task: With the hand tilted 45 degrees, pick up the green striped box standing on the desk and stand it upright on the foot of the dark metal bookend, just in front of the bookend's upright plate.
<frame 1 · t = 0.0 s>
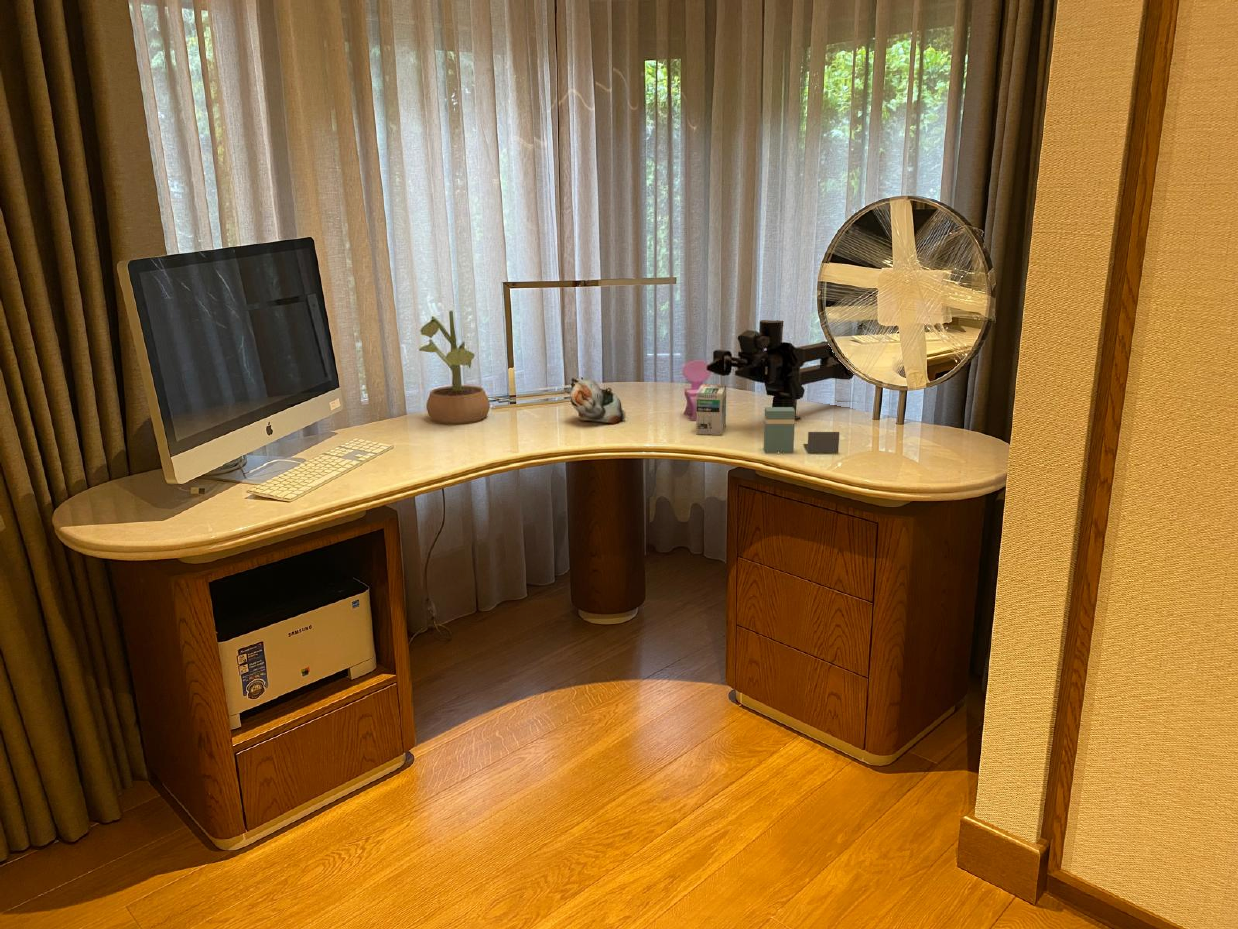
hand: (721, 370, 224), 17 cm above the table, tool horizontal, fingers open, 9 cm apart
green striped box: (778, 450, 216), on the table
potted plant: (456, 421, 248), on the table
bookend: (820, 448, 217), on the table
toy chair: (698, 417, 249), on the table
lucky cat figurine: (598, 421, 246), on the table
light bulb box: (711, 430, 235), on the table
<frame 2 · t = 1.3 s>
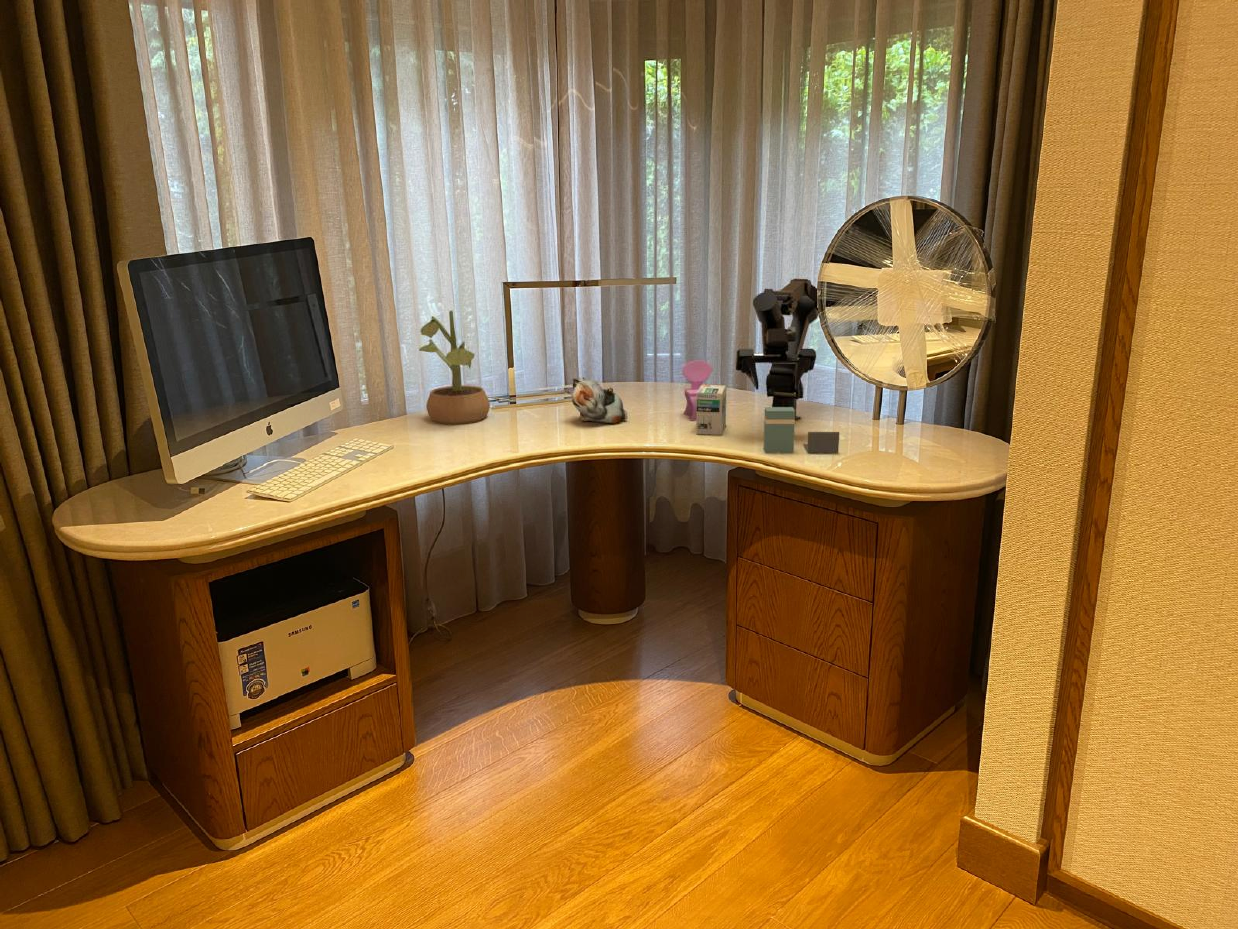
hand: (777, 388, 218), 13 cm above the table, tool tilted 45°, fingers open, 9 cm apart
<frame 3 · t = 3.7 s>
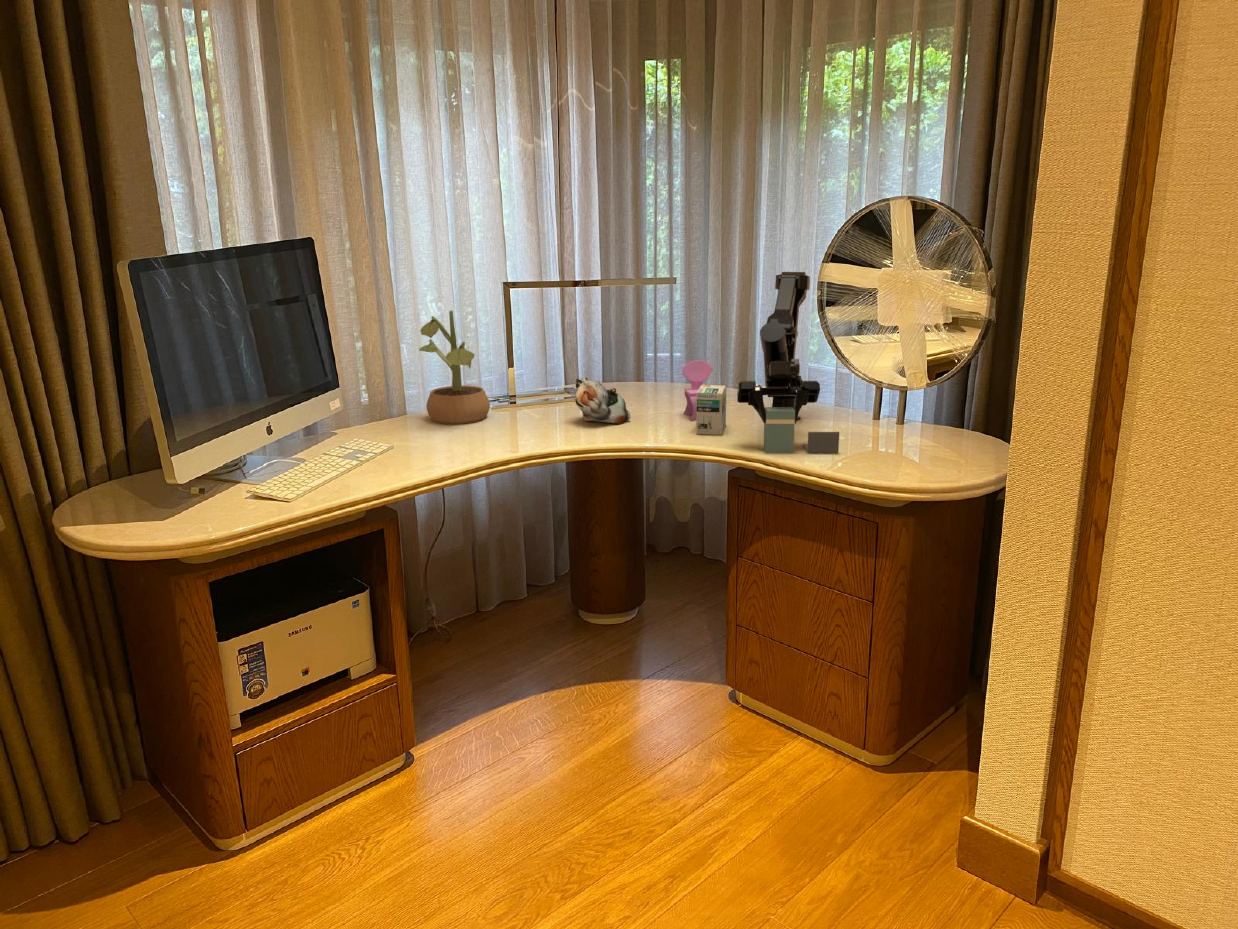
hand: (780, 422, 212), 7 cm above the table, tool tilted 45°, fingers closed on green striped box, 6 cm apart
green striped box: (778, 450, 216), on the table, touching gripper
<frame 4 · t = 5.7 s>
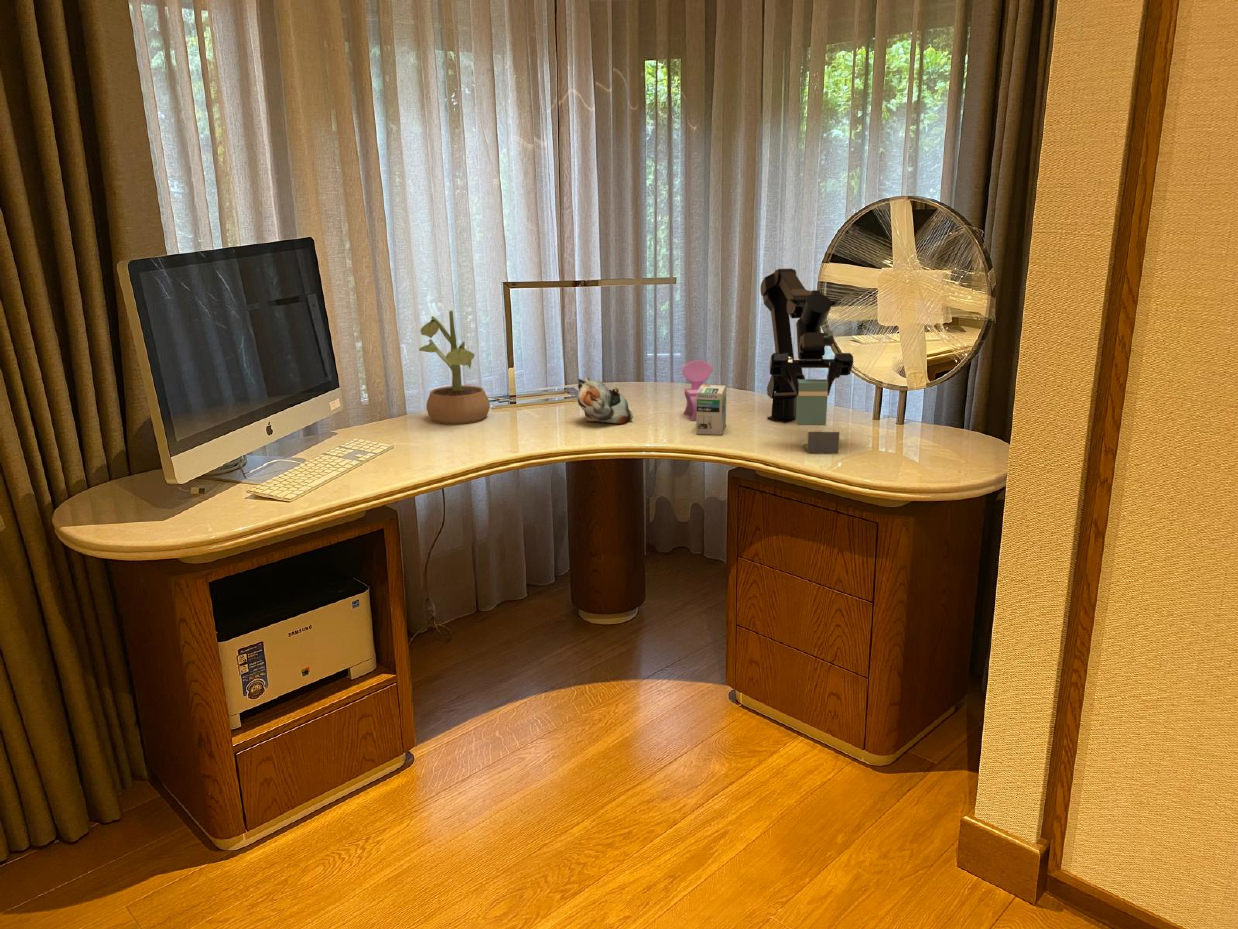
hand: (812, 394, 211), 13 cm above the table, tool tilted 45°, fingers closed on green striped box, 6 cm apart
green striped box: (810, 423, 215), point 6 cm above the table, touching gripper
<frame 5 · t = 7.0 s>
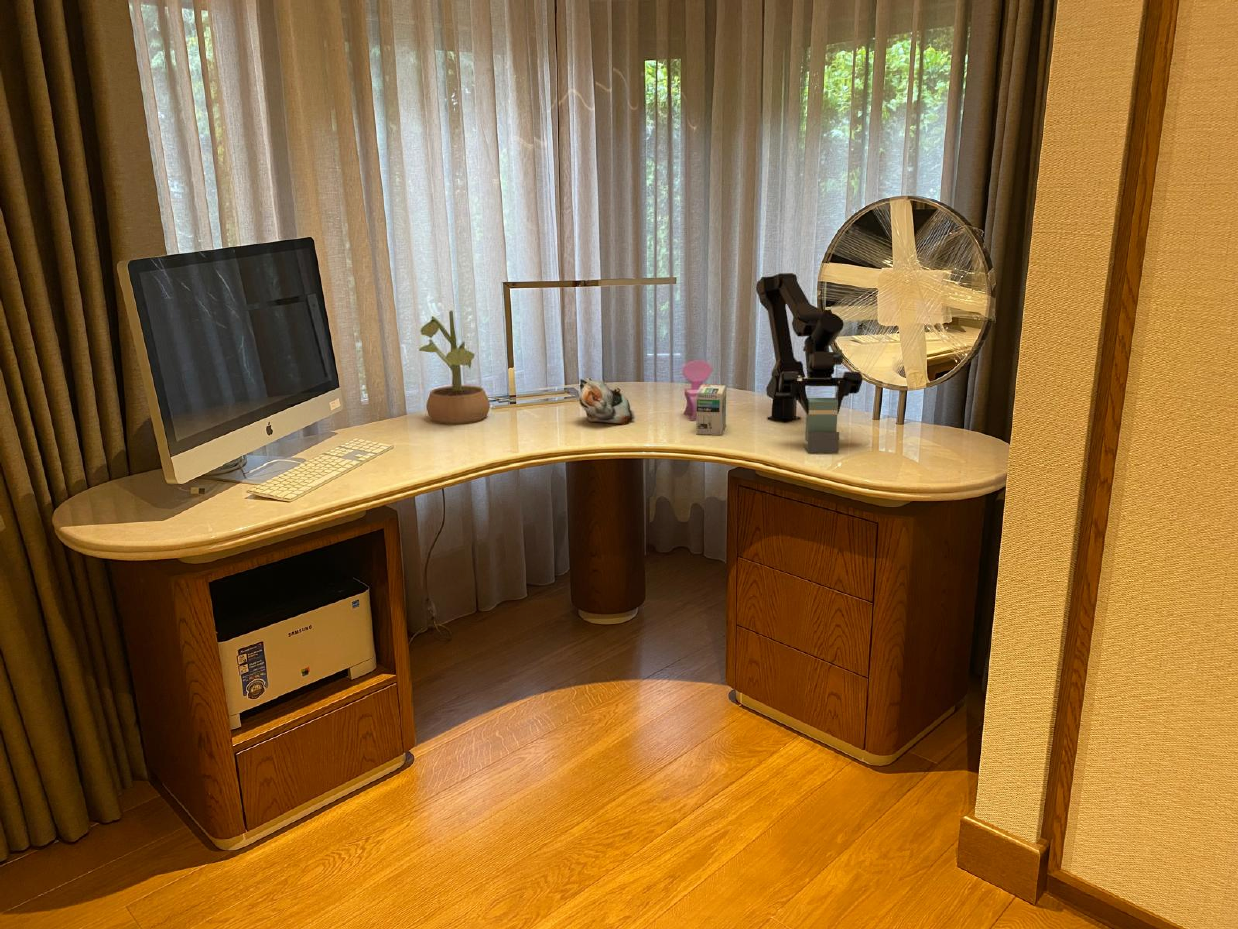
hand: (822, 413, 213), 9 cm above the table, tool tilted 45°, fingers closed on green striped box, 6 cm apart
green striped box: (820, 441, 216), point 2 cm above the table, touching gripper
when the fingers open (9 cm above the table, at t = 8.0 s): green striped box stays where it is, resting on bookend.
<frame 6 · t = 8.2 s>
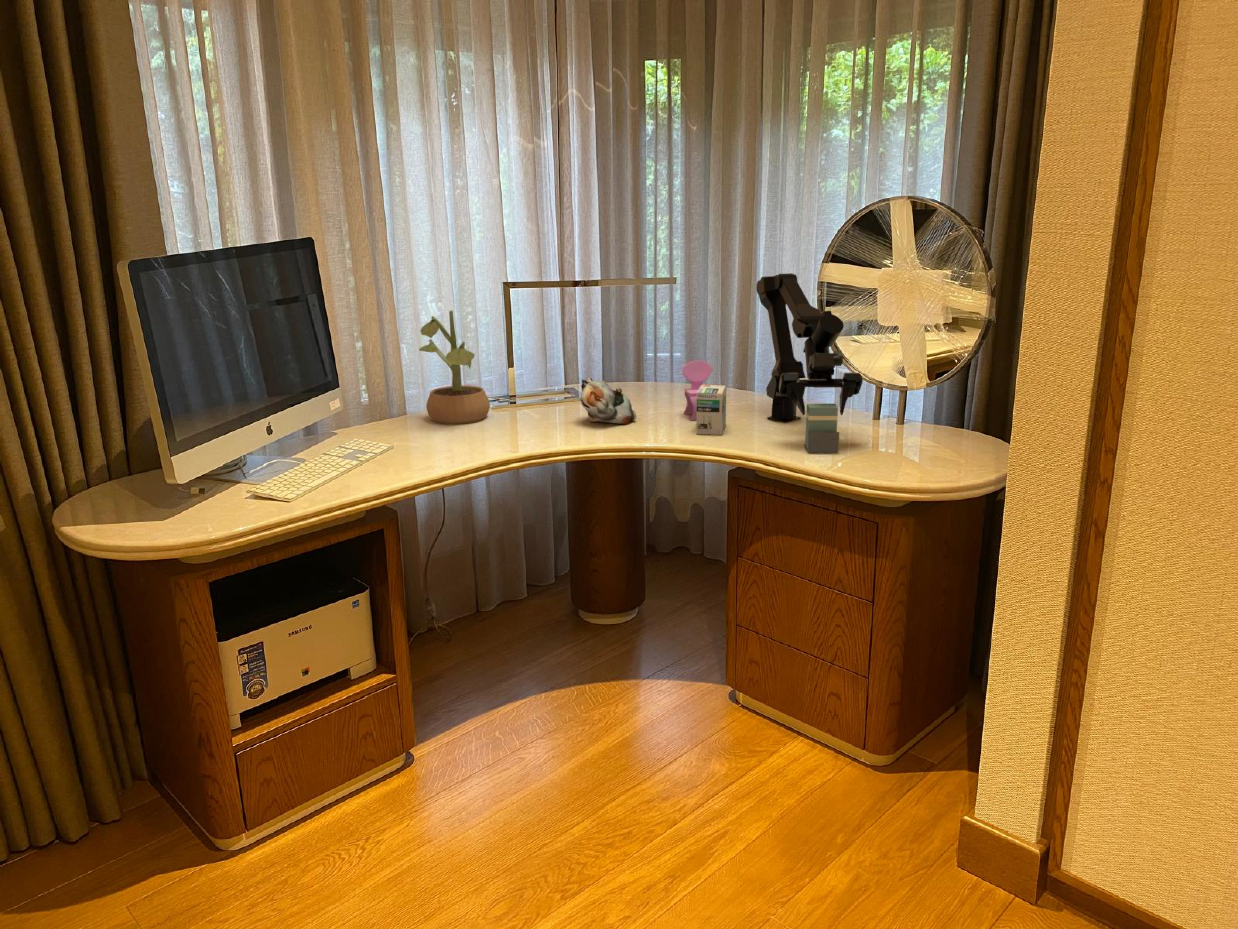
hand: (822, 414, 213), 9 cm above the table, tool tilted 45°, fingers open, 8 cm apart
green striped box: (820, 447, 217), resting on bookend
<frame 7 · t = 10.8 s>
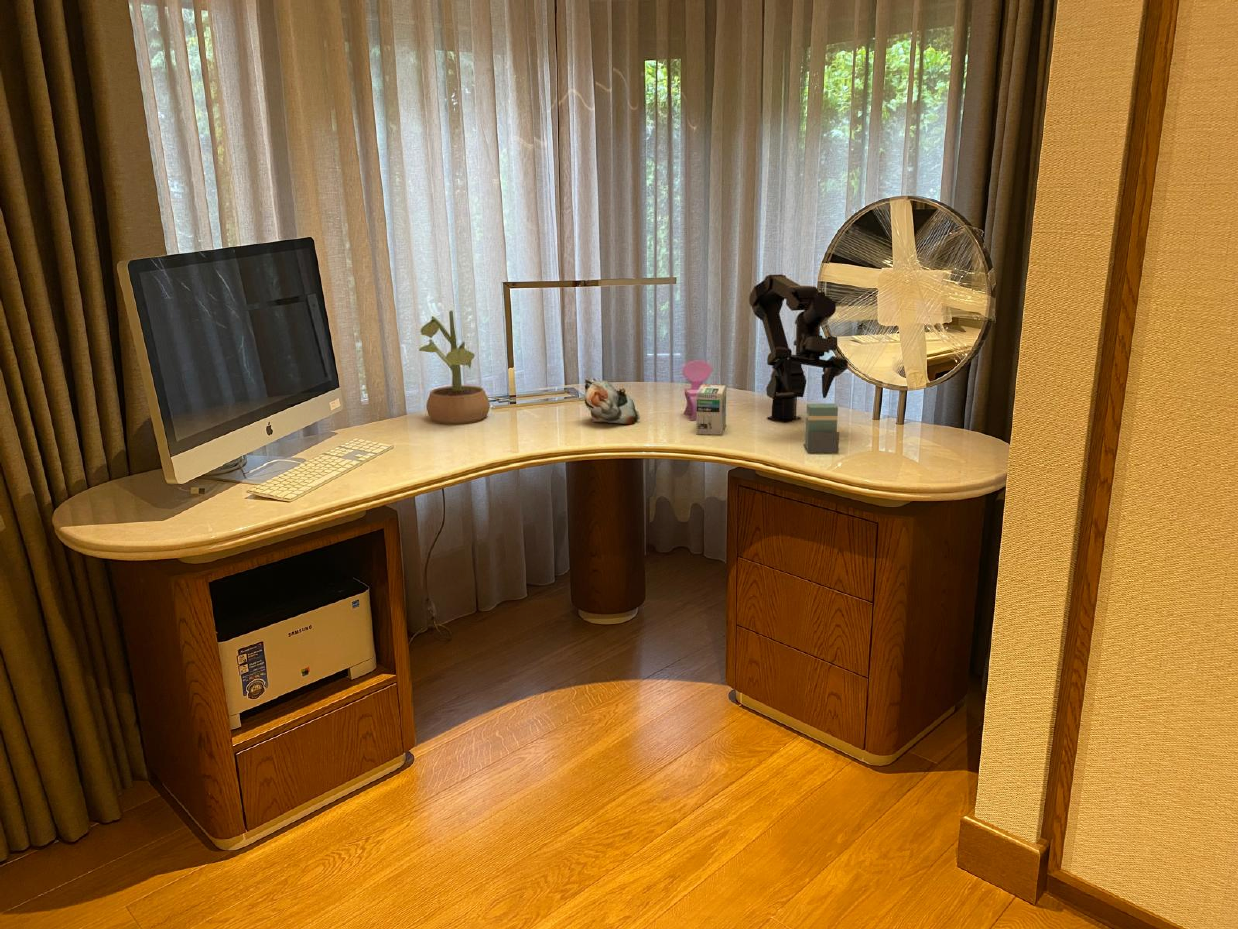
hand: (806, 394, 220), 11 cm above the table, tool tilted 35°, fingers open, 9 cm apart
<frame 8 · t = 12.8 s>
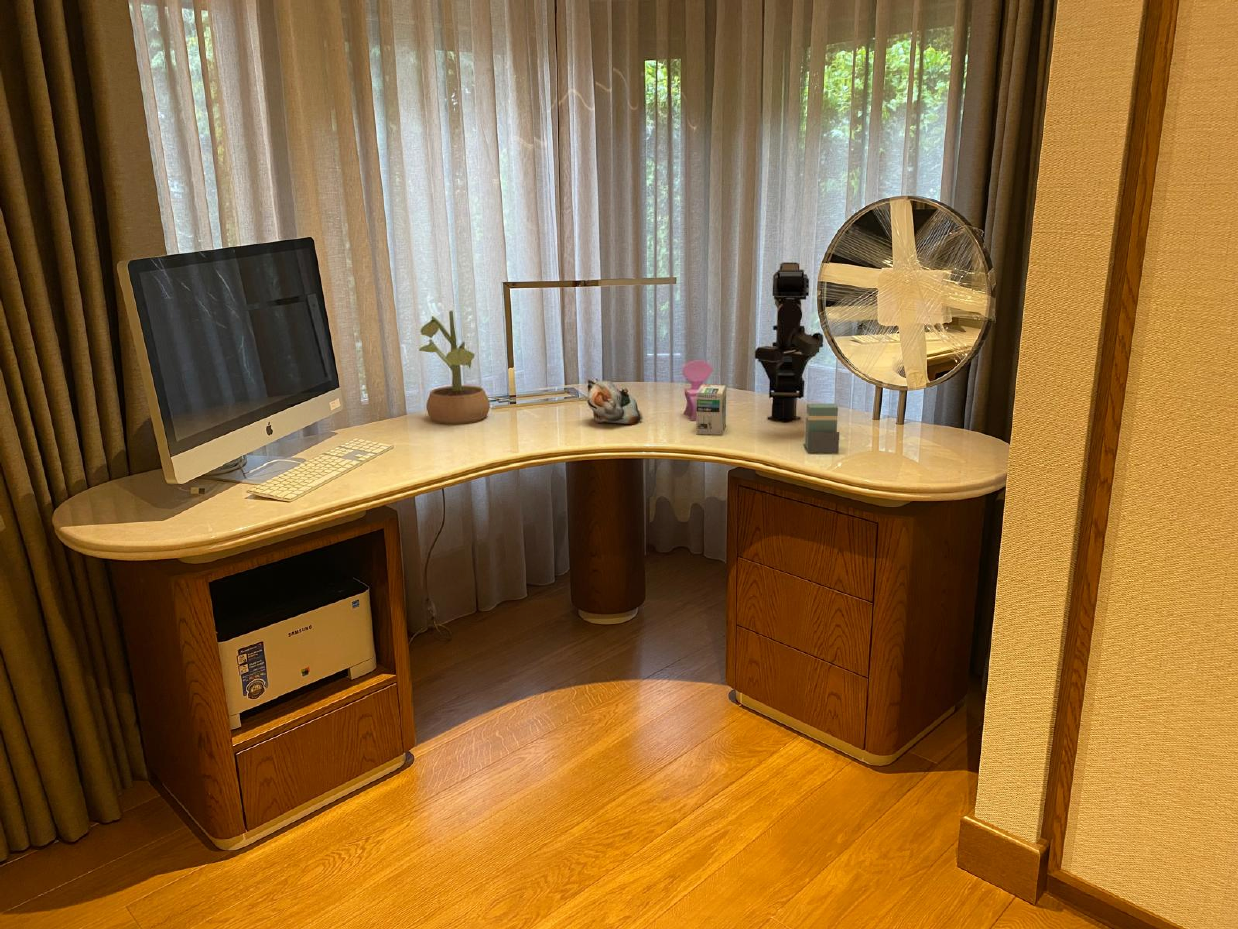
hand: (786, 384, 230), 12 cm above the table, tool pointing down, fingers open, 9 cm apart
at the end: green striped box 0.0 cm off-centre on the bookend, point 0.4 cm above the bookend's base; green striped box tilted 0°; the gripper is holding nothing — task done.
